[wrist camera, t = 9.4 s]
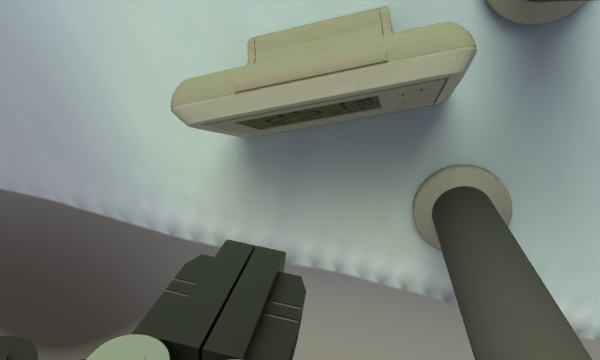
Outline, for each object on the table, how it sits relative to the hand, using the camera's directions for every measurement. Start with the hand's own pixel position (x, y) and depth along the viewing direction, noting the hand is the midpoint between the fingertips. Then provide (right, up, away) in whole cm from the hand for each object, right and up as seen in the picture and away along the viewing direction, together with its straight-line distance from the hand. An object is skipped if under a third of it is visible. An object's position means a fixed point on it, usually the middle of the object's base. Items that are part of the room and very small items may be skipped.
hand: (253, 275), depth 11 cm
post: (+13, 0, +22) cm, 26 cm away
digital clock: (+4, +10, +20) cm, 23 cm away
